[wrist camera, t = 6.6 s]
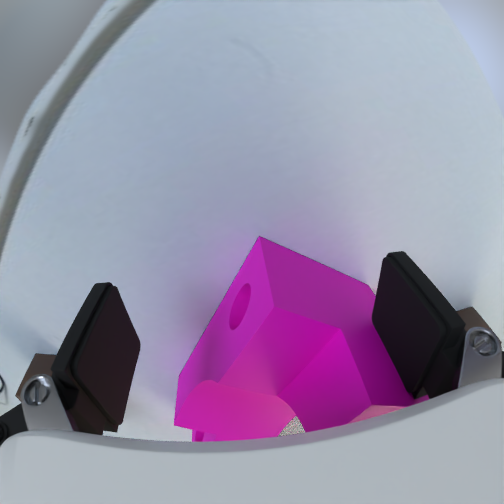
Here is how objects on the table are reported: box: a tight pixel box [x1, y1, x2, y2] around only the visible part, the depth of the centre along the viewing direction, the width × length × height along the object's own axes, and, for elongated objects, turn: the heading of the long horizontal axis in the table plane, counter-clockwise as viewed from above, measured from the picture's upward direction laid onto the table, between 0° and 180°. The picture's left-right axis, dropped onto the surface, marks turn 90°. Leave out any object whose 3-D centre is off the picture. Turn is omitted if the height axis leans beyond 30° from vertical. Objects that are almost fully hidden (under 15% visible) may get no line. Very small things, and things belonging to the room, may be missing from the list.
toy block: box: [174, 236, 429, 442], centre depth 13 cm, size 15×6×8 cm, turn 153°
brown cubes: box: [15, 307, 501, 401], centre depth 14 cm, size 3×31×4 cm, turn 95°
